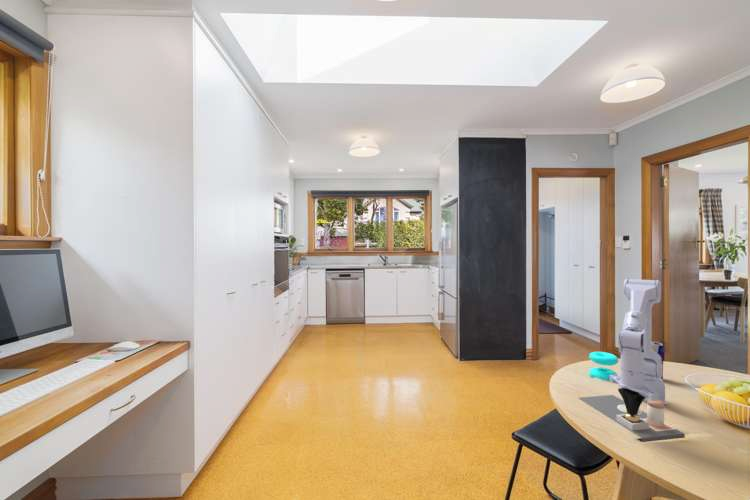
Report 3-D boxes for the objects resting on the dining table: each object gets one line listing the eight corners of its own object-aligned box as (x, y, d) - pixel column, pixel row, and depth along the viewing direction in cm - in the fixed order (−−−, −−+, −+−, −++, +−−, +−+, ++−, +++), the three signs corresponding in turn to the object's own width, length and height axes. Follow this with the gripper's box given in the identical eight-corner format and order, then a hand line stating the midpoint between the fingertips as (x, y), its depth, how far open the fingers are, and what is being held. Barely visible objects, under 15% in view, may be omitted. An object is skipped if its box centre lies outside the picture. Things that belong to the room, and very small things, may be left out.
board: (612, 398, 122) (612, 390, 121) (684, 437, 97) (684, 427, 97) (577, 401, 120) (577, 392, 120) (641, 442, 95) (641, 431, 95)
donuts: (611, 360, 132) (584, 353, 141) (611, 385, 132) (584, 376, 141) (622, 355, 137) (596, 349, 146) (622, 379, 138) (596, 371, 146)
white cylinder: (655, 419, 104) (655, 398, 103) (667, 427, 100) (668, 404, 100) (643, 420, 103) (643, 398, 103) (655, 428, 100) (655, 405, 99)
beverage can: (666, 381, 135) (666, 344, 134) (651, 380, 136) (651, 344, 136) (658, 376, 140) (658, 341, 139) (644, 375, 141) (644, 340, 141)
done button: (632, 417, 104) (632, 411, 104) (642, 424, 100) (642, 417, 100) (621, 418, 103) (621, 412, 103) (632, 425, 100) (632, 418, 100)
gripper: (601, 362, 108) (601, 403, 108) (642, 380, 94) (642, 427, 94) (620, 360, 109) (620, 401, 109) (664, 378, 95) (664, 425, 95)
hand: (632, 413), depth 102 cm, fingers closed
